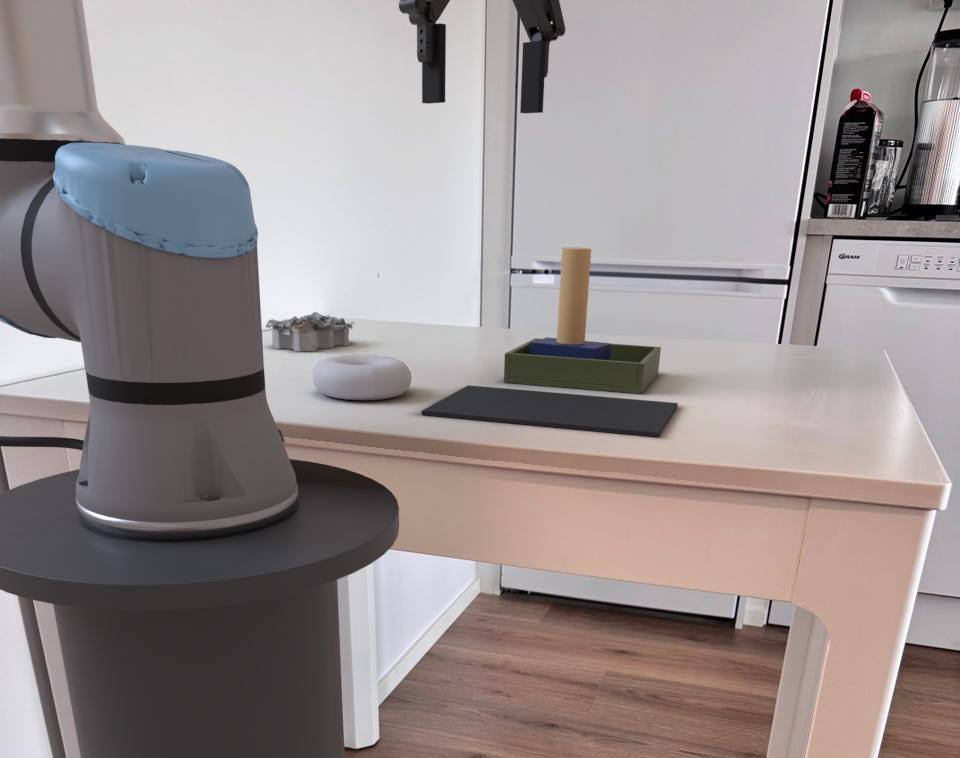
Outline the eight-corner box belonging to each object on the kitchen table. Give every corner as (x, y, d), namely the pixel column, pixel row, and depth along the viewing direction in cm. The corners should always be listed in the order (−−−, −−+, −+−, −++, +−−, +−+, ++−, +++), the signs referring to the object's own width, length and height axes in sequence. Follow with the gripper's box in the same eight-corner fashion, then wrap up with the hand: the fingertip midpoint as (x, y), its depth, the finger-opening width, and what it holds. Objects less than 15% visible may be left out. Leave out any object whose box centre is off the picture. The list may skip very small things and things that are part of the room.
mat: (421, 414, 88) (421, 410, 88) (467, 389, 100) (467, 385, 100) (658, 437, 82) (659, 432, 82) (677, 406, 94) (677, 402, 94)
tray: (503, 382, 104) (504, 353, 103) (533, 364, 116) (534, 338, 114) (641, 393, 100) (644, 363, 99) (658, 374, 112) (661, 346, 110)
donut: (378, 383, 103) (294, 389, 97) (378, 350, 101) (293, 354, 96) (430, 398, 96) (344, 407, 90) (431, 363, 94) (343, 369, 89)
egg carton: (304, 353, 119) (302, 319, 117) (261, 347, 123) (259, 314, 121) (359, 344, 127) (358, 312, 125) (317, 338, 131) (316, 307, 129)
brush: (528, 369, 109) (534, 247, 103) (545, 363, 113) (551, 245, 107) (593, 376, 106) (603, 250, 100) (608, 370, 110) (618, 249, 104)
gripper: (410, -198, 79) (411, 96, 88) (609, -129, 94) (592, 115, 103) (358, -176, 84) (364, 99, 93) (555, -114, 99) (543, 117, 108)
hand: (484, 108), depth 98 cm, fingers open, 13 cm apart
